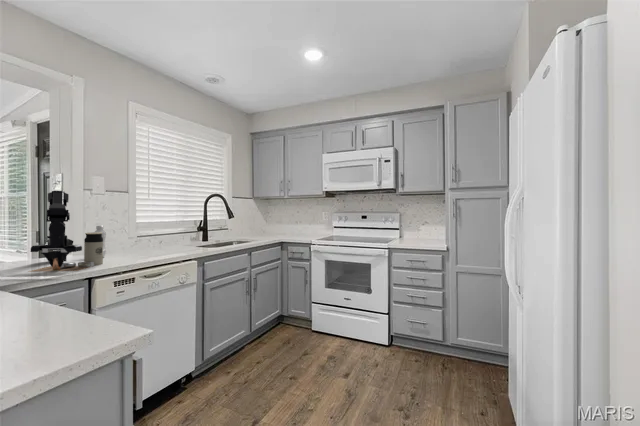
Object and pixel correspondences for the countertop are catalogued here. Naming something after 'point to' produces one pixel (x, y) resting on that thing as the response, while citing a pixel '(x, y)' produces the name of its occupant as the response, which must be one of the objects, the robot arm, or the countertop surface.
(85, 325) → the countertop surface
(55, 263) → the grey ball copper handle
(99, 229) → the plastic bottle
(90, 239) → the travel mug
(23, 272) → the countertop surface
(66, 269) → the stand
